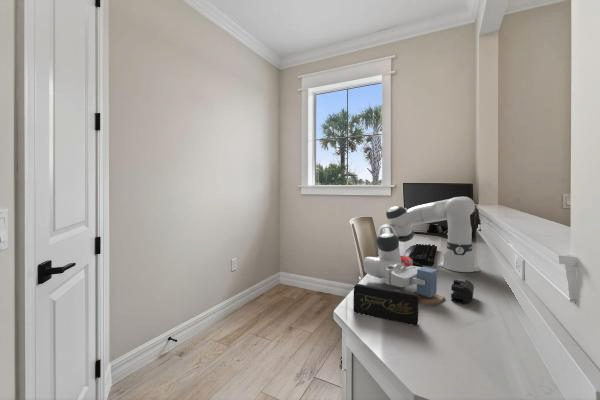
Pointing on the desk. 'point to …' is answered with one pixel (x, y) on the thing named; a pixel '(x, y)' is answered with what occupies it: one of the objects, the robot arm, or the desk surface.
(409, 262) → the red and white cube
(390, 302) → the nameplate
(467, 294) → the end cap
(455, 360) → the desk surface
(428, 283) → the tall pale blue prism
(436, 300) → the base block
